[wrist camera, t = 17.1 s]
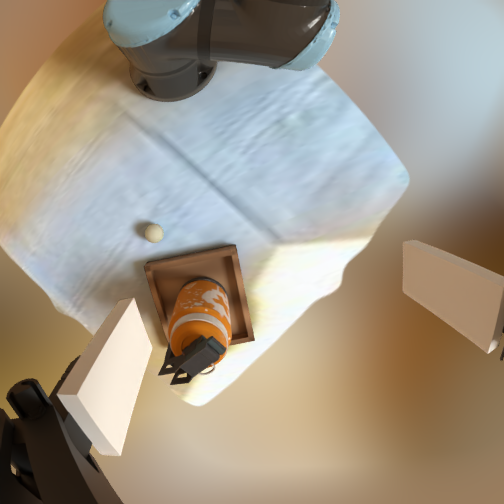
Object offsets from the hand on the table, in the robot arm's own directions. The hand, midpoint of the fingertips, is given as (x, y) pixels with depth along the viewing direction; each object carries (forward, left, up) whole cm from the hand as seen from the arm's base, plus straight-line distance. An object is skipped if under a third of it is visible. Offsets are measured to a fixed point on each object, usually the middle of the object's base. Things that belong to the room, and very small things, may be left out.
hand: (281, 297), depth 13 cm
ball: (+1, -14, -37) cm, 39 cm away
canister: (+15, -10, -36) cm, 40 cm away
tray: (+15, -9, -37) cm, 41 cm away
